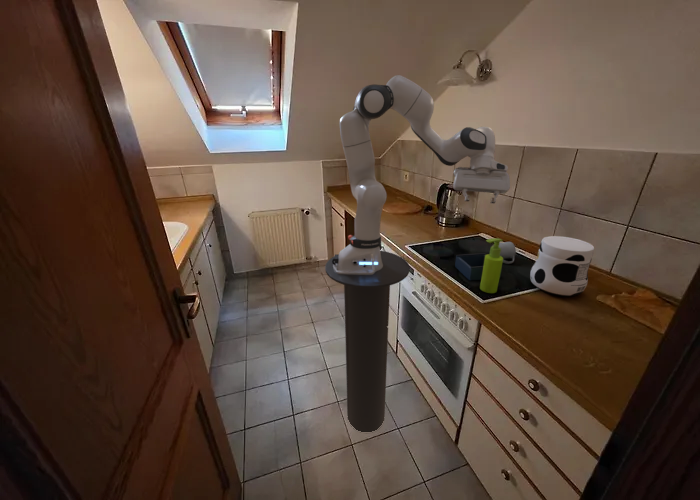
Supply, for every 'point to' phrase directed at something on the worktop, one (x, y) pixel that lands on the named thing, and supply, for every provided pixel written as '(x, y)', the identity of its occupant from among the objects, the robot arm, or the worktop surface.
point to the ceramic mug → (507, 251)
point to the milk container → (562, 265)
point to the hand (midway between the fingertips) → (479, 201)
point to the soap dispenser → (492, 267)
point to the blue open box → (469, 260)
